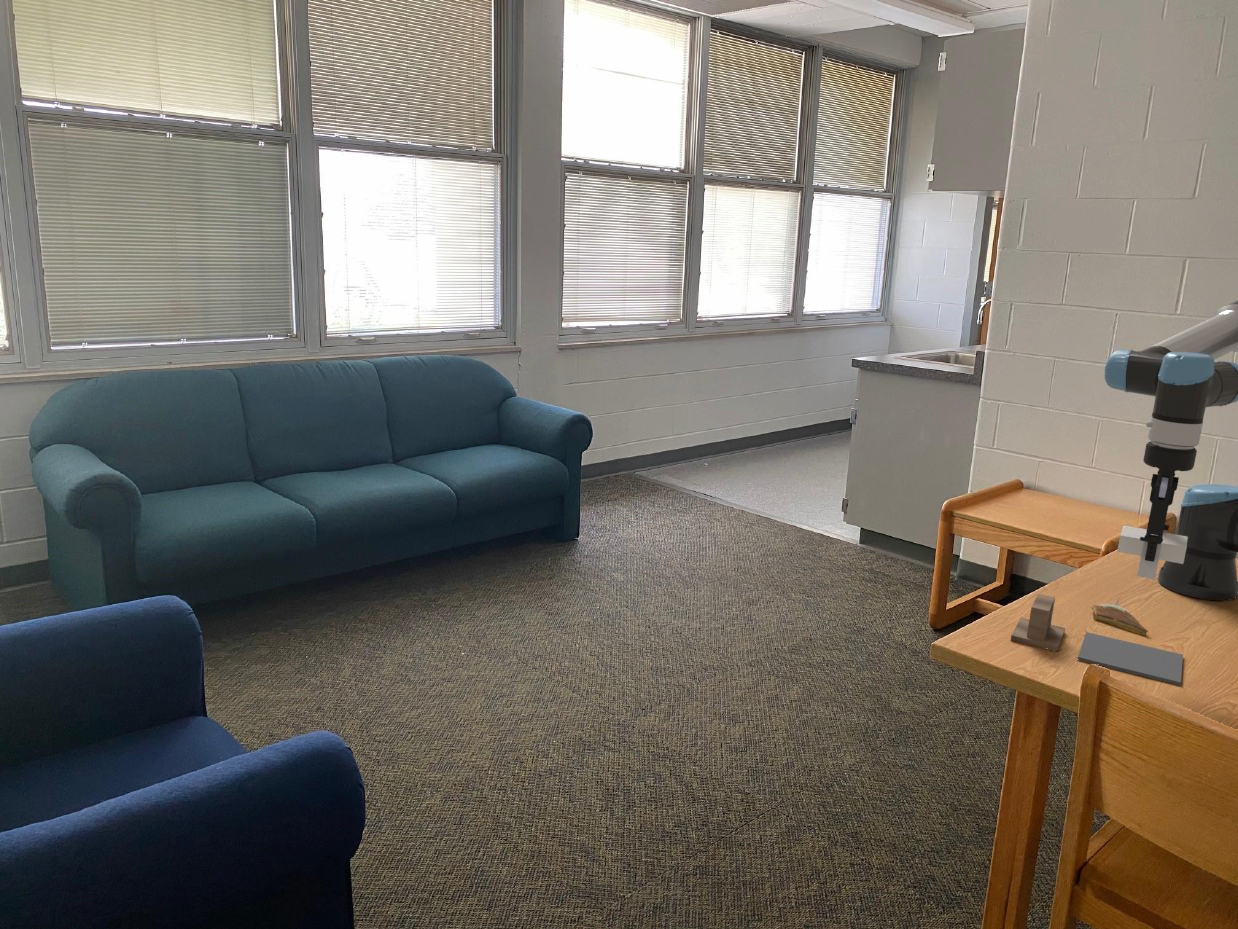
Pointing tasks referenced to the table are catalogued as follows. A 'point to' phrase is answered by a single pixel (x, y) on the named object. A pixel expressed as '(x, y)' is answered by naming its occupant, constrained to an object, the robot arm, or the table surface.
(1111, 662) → the rubber mat
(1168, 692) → the table surface
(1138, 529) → the card box
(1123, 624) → the shard
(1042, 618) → the walnut stand
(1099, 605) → the sign
